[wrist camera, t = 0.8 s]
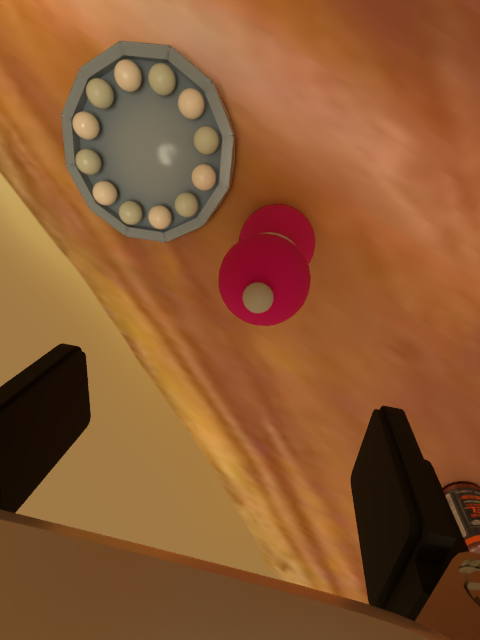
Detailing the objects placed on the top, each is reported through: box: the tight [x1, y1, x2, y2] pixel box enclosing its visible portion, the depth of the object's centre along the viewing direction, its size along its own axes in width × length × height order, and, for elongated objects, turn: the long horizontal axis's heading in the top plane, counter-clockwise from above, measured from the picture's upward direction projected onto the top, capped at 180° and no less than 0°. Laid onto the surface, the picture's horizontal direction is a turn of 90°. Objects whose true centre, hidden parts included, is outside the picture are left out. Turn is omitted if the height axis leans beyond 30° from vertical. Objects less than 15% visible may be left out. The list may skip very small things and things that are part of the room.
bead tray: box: [62, 41, 236, 242], centre depth 34 cm, size 17×17×4 cm
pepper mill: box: [219, 204, 315, 326], centre depth 28 cm, size 7×7×20 cm
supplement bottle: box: [443, 483, 480, 554], centre depth 42 cm, size 6×6×11 cm
